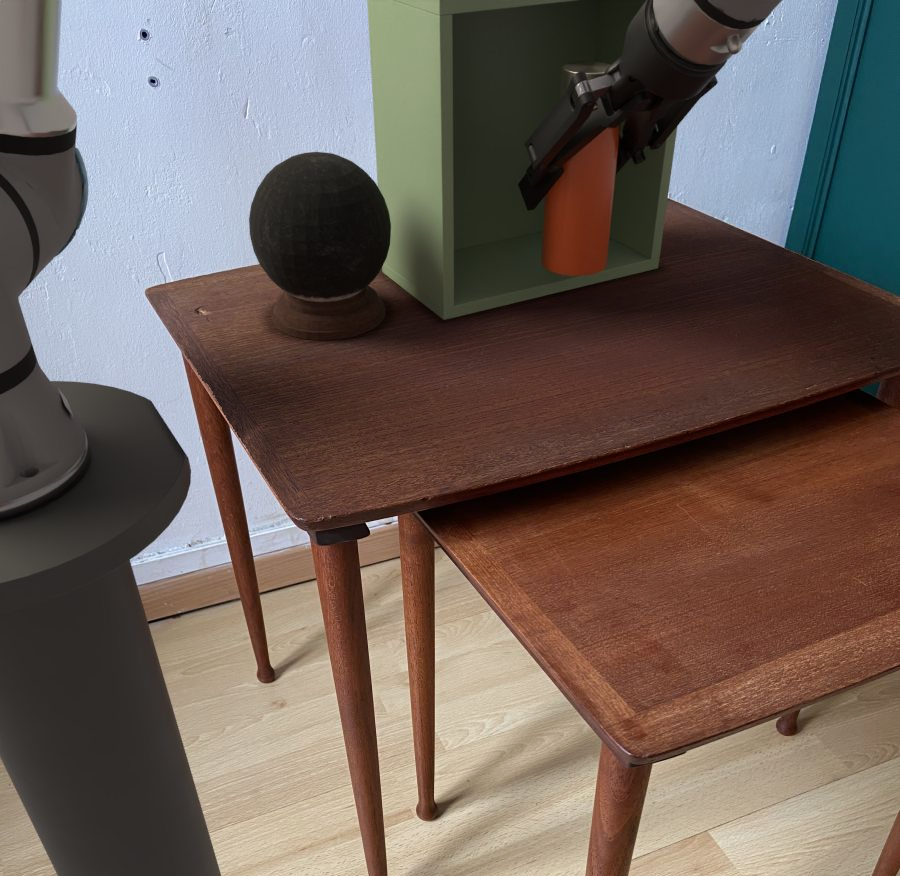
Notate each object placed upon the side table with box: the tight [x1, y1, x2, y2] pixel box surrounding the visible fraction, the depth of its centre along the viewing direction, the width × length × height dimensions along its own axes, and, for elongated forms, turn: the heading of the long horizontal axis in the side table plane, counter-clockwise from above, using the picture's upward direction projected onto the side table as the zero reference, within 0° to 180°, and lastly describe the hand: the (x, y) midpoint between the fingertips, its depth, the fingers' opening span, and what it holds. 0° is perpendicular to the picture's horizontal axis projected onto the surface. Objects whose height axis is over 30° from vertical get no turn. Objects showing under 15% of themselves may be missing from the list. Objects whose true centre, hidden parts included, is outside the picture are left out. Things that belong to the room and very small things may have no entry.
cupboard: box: [366, 0, 678, 321], centre depth 94 cm, size 14×26×27 cm, turn 119°
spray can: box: [541, 62, 621, 276], centre depth 88 cm, size 6×6×17 cm
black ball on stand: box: [248, 151, 391, 341], centre depth 90 cm, size 13×13×15 cm
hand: (557, 190), depth 92 cm, fingers closed on spray can, 6 cm apart
